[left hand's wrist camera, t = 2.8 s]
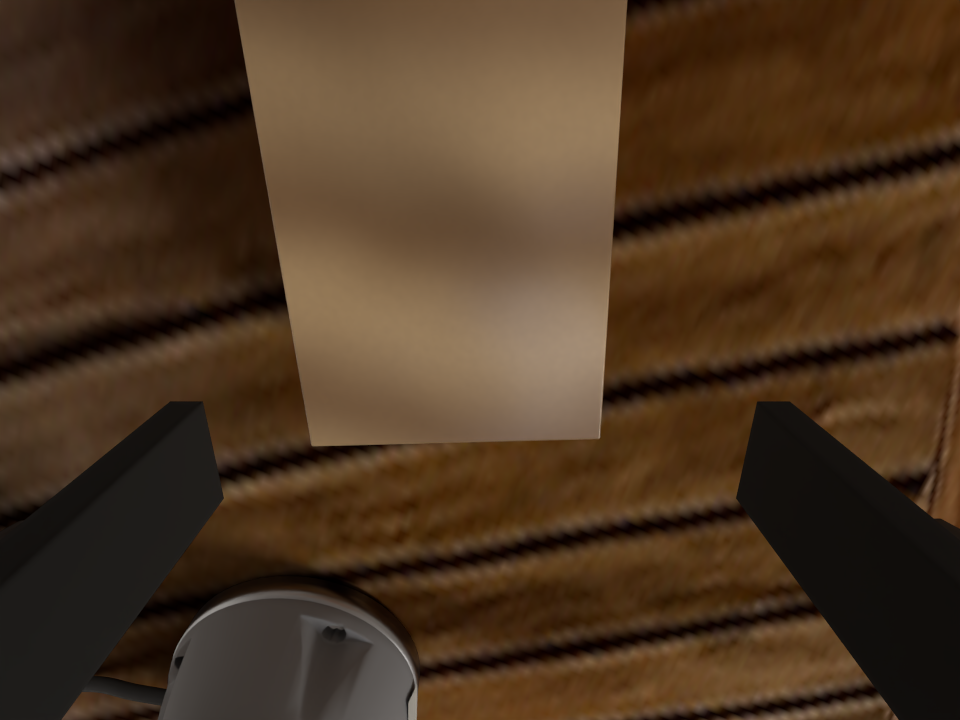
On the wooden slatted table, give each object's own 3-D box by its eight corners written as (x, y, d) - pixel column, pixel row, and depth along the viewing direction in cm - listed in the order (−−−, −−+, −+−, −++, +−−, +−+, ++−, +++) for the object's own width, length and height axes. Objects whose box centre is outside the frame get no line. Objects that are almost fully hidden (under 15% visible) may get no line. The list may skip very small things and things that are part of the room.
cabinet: (308, -14, 21) (215, -101, 13) (581, -24, 21) (635, -118, 13) (357, 366, 27) (311, 446, 19) (568, 360, 27) (600, 439, 19)
